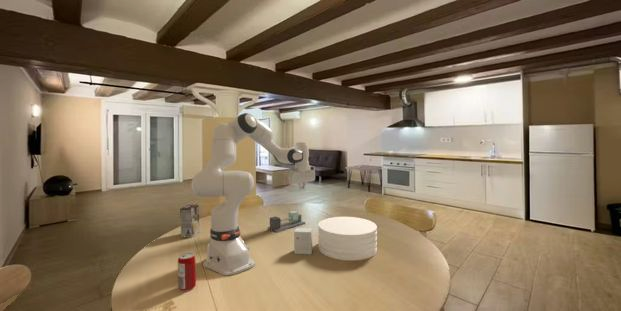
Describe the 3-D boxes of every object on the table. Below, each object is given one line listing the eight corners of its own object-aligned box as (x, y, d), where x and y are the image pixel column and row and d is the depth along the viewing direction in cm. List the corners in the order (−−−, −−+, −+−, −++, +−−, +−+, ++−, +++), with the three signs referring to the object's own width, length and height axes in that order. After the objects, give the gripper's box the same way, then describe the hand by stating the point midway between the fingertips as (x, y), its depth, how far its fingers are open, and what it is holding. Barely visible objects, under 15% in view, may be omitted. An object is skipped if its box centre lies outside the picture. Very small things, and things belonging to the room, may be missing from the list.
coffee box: (188, 232, 151) (188, 204, 150) (199, 232, 151) (199, 204, 150) (180, 237, 142) (179, 208, 141) (192, 237, 142) (191, 208, 141)
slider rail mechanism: (305, 223, 165) (305, 212, 165) (276, 232, 150) (276, 220, 149) (296, 220, 171) (295, 210, 171) (267, 228, 156) (267, 217, 156)
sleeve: (298, 220, 164) (298, 212, 163) (293, 222, 161) (293, 213, 161) (293, 219, 167) (293, 210, 167) (288, 220, 164) (288, 211, 164)
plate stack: (378, 263, 111) (378, 236, 111) (313, 257, 117) (313, 232, 116) (375, 239, 139) (375, 218, 138) (323, 236, 144) (323, 215, 144)
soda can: (198, 283, 96) (197, 251, 95) (192, 291, 90) (191, 257, 90) (182, 283, 96) (181, 251, 95) (175, 292, 90) (174, 258, 89)
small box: (312, 249, 125) (312, 228, 125) (311, 254, 120) (311, 232, 119) (296, 249, 126) (295, 227, 126) (294, 254, 121) (293, 231, 120)
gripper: (292, 169, 158) (292, 192, 159) (316, 167, 172) (316, 188, 173) (286, 168, 163) (286, 190, 163) (310, 166, 177) (310, 186, 177)
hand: (302, 189), depth 168 cm, fingers closed
